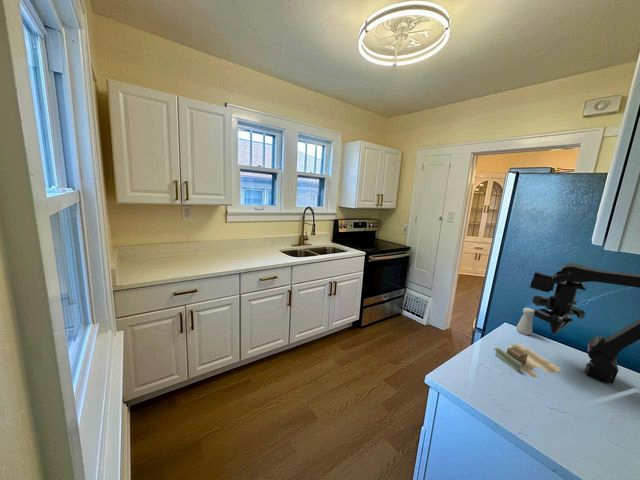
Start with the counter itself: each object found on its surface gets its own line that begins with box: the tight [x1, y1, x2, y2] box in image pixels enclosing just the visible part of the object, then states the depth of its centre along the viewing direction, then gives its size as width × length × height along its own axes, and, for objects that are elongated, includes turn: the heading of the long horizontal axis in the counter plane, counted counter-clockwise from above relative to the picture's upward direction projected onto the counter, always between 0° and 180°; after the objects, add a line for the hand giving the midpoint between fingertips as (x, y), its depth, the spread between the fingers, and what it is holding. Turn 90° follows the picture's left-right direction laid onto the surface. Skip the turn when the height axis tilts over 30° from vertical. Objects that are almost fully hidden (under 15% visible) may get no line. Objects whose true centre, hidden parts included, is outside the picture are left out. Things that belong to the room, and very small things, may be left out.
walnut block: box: [506, 347, 528, 365], centre depth 99 cm, size 4×4×4 cm
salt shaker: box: [515, 307, 535, 336], centre depth 119 cm, size 6×6×13 cm
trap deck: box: [493, 343, 563, 378], centre depth 101 cm, size 18×16×4 cm
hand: (553, 333), depth 101 cm, fingers closed
